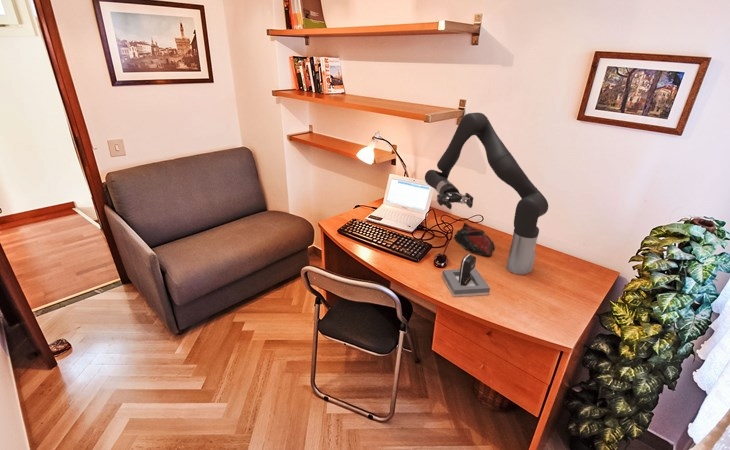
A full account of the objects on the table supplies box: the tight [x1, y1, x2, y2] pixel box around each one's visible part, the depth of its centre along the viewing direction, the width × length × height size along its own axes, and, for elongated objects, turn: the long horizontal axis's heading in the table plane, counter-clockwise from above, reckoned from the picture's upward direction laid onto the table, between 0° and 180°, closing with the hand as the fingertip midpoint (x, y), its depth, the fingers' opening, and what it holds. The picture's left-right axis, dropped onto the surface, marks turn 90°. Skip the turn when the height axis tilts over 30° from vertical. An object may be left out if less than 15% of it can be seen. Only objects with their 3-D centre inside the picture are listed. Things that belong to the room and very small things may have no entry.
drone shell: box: [453, 222, 496, 257], centre depth 174 cm, size 21×20×8 cm
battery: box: [459, 253, 477, 285], centre depth 143 cm, size 7×4×11 cm, turn 143°
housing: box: [441, 267, 491, 298], centre depth 144 cm, size 14×14×3 cm
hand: (461, 206), depth 146 cm, fingers open, 8 cm apart
